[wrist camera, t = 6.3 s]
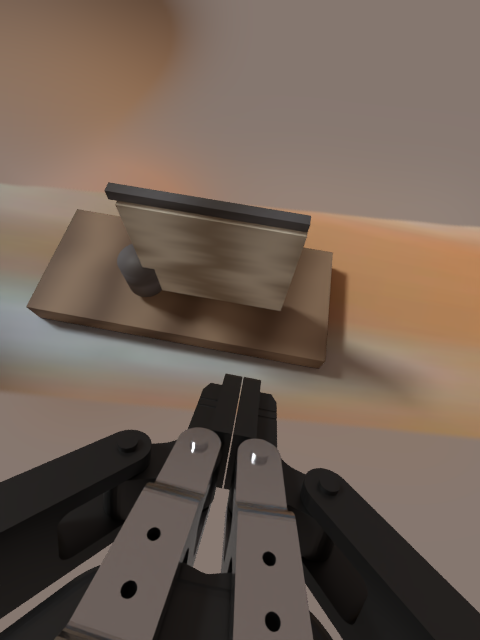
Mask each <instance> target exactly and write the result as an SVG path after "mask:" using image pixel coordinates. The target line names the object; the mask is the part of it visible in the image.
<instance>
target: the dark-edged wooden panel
mask: <svg viewBox="0 0 480 640" xmlns="http://www.w3.org/2000/svg"><path fill="white" fill-rule="evenodd" d="M105 193H106V195H107V197H108V199H110V200H116V201H117V202H116V204H115V205H116V207H117V210H118V212H119V214H120V216H121V219H122V221H123V223H124V226H125V228H126V230H127V233H128V235H129V237H130V240H131V242H132V244H130V245H128V246H126V247H125V248H124V249H123V250H122V251H121V252H120V253H119V255H118V258H117V265H118V267H119V269H120V271H121V273H122V275H123V276H124V278H125V280H126V282H127V284H128V285H129V287H130V289H131V290H132V292H133V293H135V294H136V295H138V296H141V297H151V296H154V295H156V294H158V293H159V292H161V291H162V290H165V291H170V292H176V293H181V294H187V295H193V296H198V297H204V298H210V299H215V300H221V301H226V302H232V303H238V304H243V305H249V306H255V307H260V308H266V309H271V310H277V311H281V308H282V306H283V303H284V300H285V297H286V294H287V291H288V289H289V286H290V283H291V280H292V277H293V275H294V272H295V269H296V266H297V263H298V260H299V258H300V255H301V252H302V249H303V246H304V244H305V241H306V238H307V232H308V229H309V226H310V221H311V216H309V215H303V214H296V213H290V212H284V211H278V210H272V209H266V208H260V207H254V206H248V205H242V204H236V203H230V202H223V201H217V200H212V199H205V198H200V197H193V196H187V195H181V194H175V193H169V192H163V191H157V190H150V189H144V188H138V187H133V186H127V185H120V184H115V183H108V184H107V187H106V189H105Z"/></svg>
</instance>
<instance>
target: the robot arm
mask: <svg viewBox="0 0 480 640" xmlns="http://www.w3.org/2000/svg"><path fill="white" fill-rule="evenodd" d="M241 382H242V377H241V376H236V375H230V374H225V377H224V381H223V384H222V385H219V384H214V383H210V384H209V385H208V386H206V387H205V388H204V389H203V391H202V394H201V396H200V399H199V401H198V405H197V407H196V409H195V412H194V415H193V417H192V420H191V422H190V425H189V427H188V429H187V430H185V431H184V432H183V433H181V435H180V436H179V438H178V439H177V440H175V441H172V442H168V443H158V444H151V440H150V438H149V437H148V436H147V435H146V434H145V433H143V432H140V431H137V430H124V431H120V432H118V433H115V434H113V435H110V436H108V437H106V438H103V439H101V440H99V441H96V442H94V443H92V444H89V445H87V446H85V447H82V448H80V449H78V450H75V451H73V452H70V453H68V454H66V455H63V456H61V457H59V458H56V459H54V460H52V461H49V462H47V463H45V464H42V465H40V466H38V467H35V468H33V469H31V470H29V471H26V472H24V473H21V474H19V475H17V476H14V477H12V478H10V479H7V480H5V481H3V482H0V619H1V618H2V617H4V616H5V615H7V614H8V613H10V612H11V611H13V610H14V609H16V608H17V607H19V606H20V605H21V604H23V603H24V602H26V601H27V600H29V599H30V598H32V597H33V596H35V595H36V594H38V593H39V592H40V591H42V590H44V589H45V588H46V587H48V586H49V585H51V584H52V583H54V582H55V581H57V580H58V579H60V578H61V577H63V576H64V575H66V574H67V573H69V572H70V571H72V570H73V569H75V568H76V567H77V566H79V565H80V564H82V563H83V562H85V561H86V560H88V559H89V558H91V557H92V556H94V555H95V554H97V553H98V552H99V551H101V550H102V549H104V548H105V547H107V546H108V545H110V544H111V543H113V544H112V546H111V547H110V550H109V551H108V553H107V555H106V556H105V558H104V560H103V562H102V564H101V565H99V566H97V567H94V568H92V569H90V570H88V571H86V572H84V573H83V574H81V575H79V576H77V577H76V578H74V579H73V580H72V581H70V582H69V583H67V584H66V585H65V586H63V587H62V588H61V589H59V590H58V591H57V592H55V593H54V594H53V595H51V596H50V597H49V598H47V599H46V600H45V601H43V602H42V603H40V604H39V605H38V606H36V607H35V608H34V609H33V610H31V611H29V612H28V613H27V614H25V615H24V616H23V617H21V618H20V619H19V620H17V621H16V622H15V623H13V624H12V625H11V626H9V627H8V628H6V629H5V630H4V631H3V632H1V633H0V640H333V639H332V638H331V636H330V635H329V633H328V632H327V631H326V629H325V628H324V627H323V625H322V624H321V623H320V622H319V620H318V619H317V618H316V617H315V616H314V615H313V614H312V613H311V612H310V611H309V608H308V601H307V594H306V587H305V584H306V585H307V587H308V588H309V589H310V591H311V593H312V594H313V596H314V597H315V598H316V600H317V601H318V603H319V604H320V606H321V607H322V609H323V610H324V612H325V613H326V615H327V616H328V618H329V619H330V621H331V622H332V624H333V625H334V627H335V628H336V630H337V631H338V632H339V634H340V636H341V637H342V638H343V640H480V613H479V612H478V611H477V610H476V609H475V608H474V607H473V606H472V605H471V604H470V603H469V602H468V601H467V600H466V599H465V598H464V597H463V596H462V595H461V594H460V593H458V592H457V591H456V590H455V589H454V588H453V587H452V586H451V585H450V584H449V583H448V582H447V581H446V580H445V579H444V578H443V577H442V576H441V575H440V574H439V573H438V572H437V571H436V570H435V569H434V568H433V567H432V566H431V565H430V564H429V563H428V562H427V561H426V560H425V559H424V558H423V557H422V556H421V555H420V554H419V553H418V552H417V551H416V550H415V549H414V548H413V547H412V546H411V545H410V544H409V543H408V542H407V541H406V540H405V539H404V538H403V537H402V536H401V535H400V534H399V533H397V531H395V529H394V528H393V527H391V526H390V525H389V524H388V523H387V522H386V521H385V520H384V519H383V518H382V517H381V516H380V515H379V514H378V513H377V512H376V511H375V510H374V509H373V508H372V507H371V506H370V505H369V504H368V503H367V502H366V501H365V500H364V499H363V498H362V497H361V496H360V495H359V494H358V493H357V492H356V491H355V490H354V489H353V488H352V487H351V486H350V485H349V484H348V483H347V482H346V481H345V480H344V479H342V477H340V476H339V475H338V474H336V473H334V472H332V471H330V470H327V469H322V468H316V469H312V470H310V471H309V472H308V473H307V474H303V473H301V472H299V471H297V470H295V469H293V468H291V467H290V466H289V465H287V464H286V463H285V462H284V461H283V460H282V459H281V456H280V453H279V451H278V450H277V421H276V419H277V413H276V412H277V407H276V401H275V400H274V398H273V396H272V395H271V394H266V393H261V392H260V385H261V380H257V379H252V378H246V377H244V379H243V385H242V390H241V396H240V401H239V406H238V412H237V417H236V423H235V428H234V434H233V440H232V445H231V451H230V457H229V462H228V468H227V474H226V479H225V485H224V489H229V490H230V491H229V498H228V503H227V508H226V515H225V528H224V542H223V555H222V568H221V573H219V574H205V573H202V572H200V571H198V570H197V569H195V568H193V564H194V561H195V558H196V554H197V551H198V547H199V544H200V541H201V538H202V534H203V531H204V527H205V524H206V520H207V517H208V514H209V511H210V506H211V503H212V501H213V499H214V495H215V490H216V487H219V488H222V485H223V480H224V474H225V469H226V463H227V457H228V452H229V447H230V441H231V436H232V431H233V425H234V420H235V415H236V409H237V404H238V398H239V393H240V387H241Z"/></svg>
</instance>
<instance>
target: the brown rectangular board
mask: <svg viewBox="0 0 480 640" xmlns="http://www.w3.org/2000/svg"><path fill="white" fill-rule="evenodd" d="M130 244H132V242H131V240H130V237H129V235H128V233H127V230H126V228H125V226H124V223H123V221H122V219H121V217H120V216H114V215H108V214H102V213H96V212H90V211H84V210H78V209H77V211H76V213H75V215H74V216H73V218H72V220H71V222H70V224H69V226H68V228H67V230H66V232H65V234H64V236H63V238H62V239H61V241H60V243H59V245H58V247H57V249H56V251H55V253H54V255H53V257H52V259H51V260H50V262H49V264H48V266H47V268H46V270H45V272H44V274H43V276H42V278H41V280H40V282H39V283H38V285H37V287H36V289H35V291H34V293H33V295H32V297H31V299H30V301H29V303H28V305H27V306H26V307H27V308H28V309H30V310H31V311H32V312H34V313H35V314H36V315H37V316H39V317H41V318H46V319H52V320H57V321H62V322H68V323H73V324H79V325H84V326H90V327H95V328H100V329H106V330H111V331H117V332H122V333H128V334H133V335H138V336H144V337H149V338H155V339H160V340H166V341H171V342H176V343H182V344H187V345H193V346H198V347H204V348H209V349H214V350H220V351H225V352H231V353H236V354H242V355H247V356H252V357H258V358H263V359H269V360H274V361H280V362H285V363H290V364H296V365H301V366H307V367H312V368H319V367H320V366H321V365H322V364H323V363H324V362H325V358H326V343H327V329H328V314H329V300H330V285H331V270H332V256H333V253H332V252H327V251H321V250H315V249H309V248H303V249H302V252H301V255H300V258H299V260H298V263H297V266H296V269H295V272H294V275H293V277H292V280H291V283H290V286H289V289H288V291H287V294H286V297H285V300H284V303H283V306H282V308H281V311H277V310H271V309H266V308H260V307H255V306H249V305H243V304H238V303H232V302H226V301H221V300H215V299H210V298H204V297H198V296H193V295H187V294H181V293H176V292H170V291H165V290H162V291H161V292H159V293H158V294H156V295H154V296H151V297H141V296H138V295H136V294H135V293H133V292H132V290H131V289H130V287H129V285H128V284H127V282H126V280H125V278H124V276H123V275H122V273H121V271H120V269H119V267H118V265H117V258H118V255H119V253H120V252H121V251H122V250H123V249H124V248H125V247H126V246H128V245H130Z"/></svg>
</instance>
